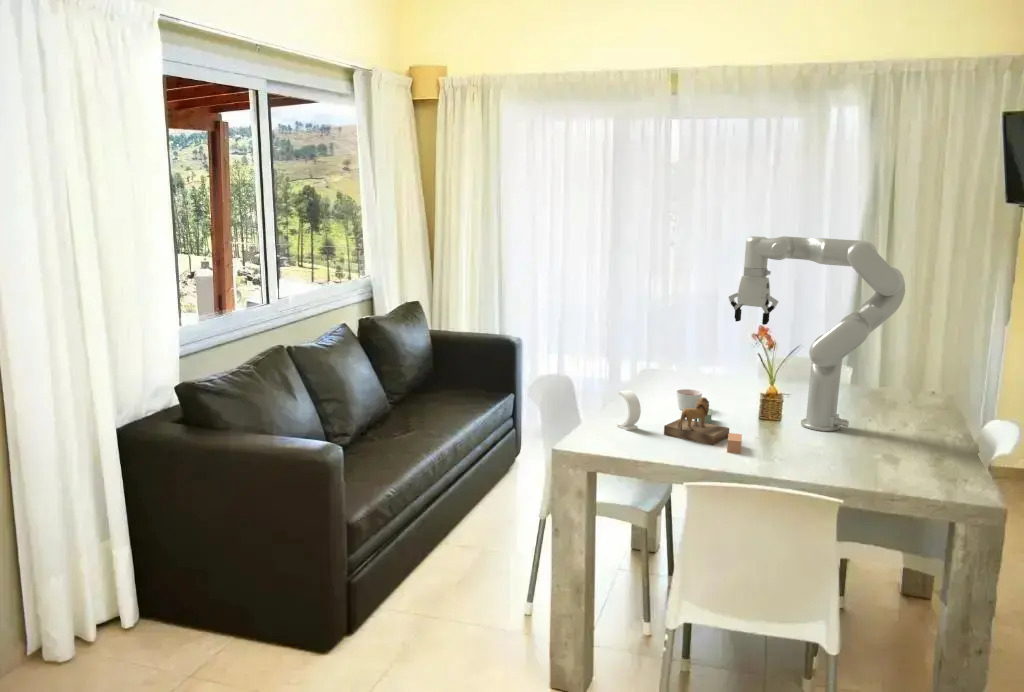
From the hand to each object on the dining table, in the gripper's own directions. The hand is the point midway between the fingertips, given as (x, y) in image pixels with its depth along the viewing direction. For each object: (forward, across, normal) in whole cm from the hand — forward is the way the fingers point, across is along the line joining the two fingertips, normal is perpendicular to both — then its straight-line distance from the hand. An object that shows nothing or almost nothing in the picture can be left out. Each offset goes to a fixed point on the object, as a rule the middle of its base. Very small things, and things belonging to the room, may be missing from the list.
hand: (751, 322), depth 293 cm
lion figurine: (+31, +3, +35) cm, 47 cm away
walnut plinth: (+33, +2, +34) cm, 48 cm away
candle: (+34, +19, +5) cm, 39 cm away
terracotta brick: (+34, -13, +39) cm, 53 cm away
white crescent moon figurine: (+34, +23, +41) cm, 58 cm away
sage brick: (+34, +7, +17) cm, 38 cm away
